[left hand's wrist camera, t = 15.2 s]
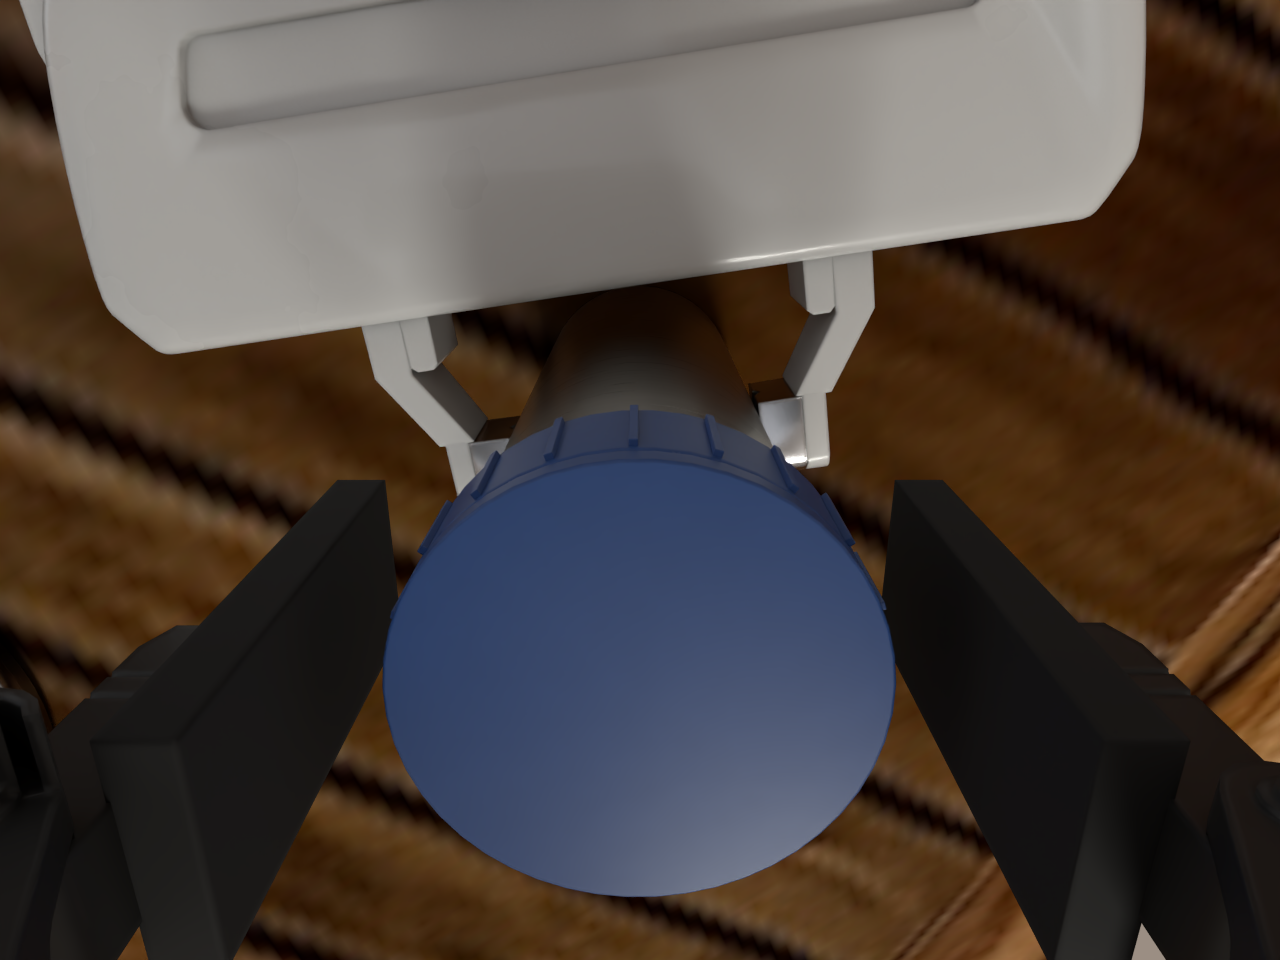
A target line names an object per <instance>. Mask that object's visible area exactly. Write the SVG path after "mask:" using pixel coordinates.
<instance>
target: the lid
mask: <svg viewBox="0 0 1280 960" xmlns="http://www.w3.org/2000/svg"><path fill="white" fill-rule="evenodd" d="M854 544H855V541H854V539H853V538H852V536H851V534H850V532H849V531H848V529H847V527H846V525H845V524H844V522H843V520H842V518H841V517H840V515H839V513H838V511H837V509H836V508H835V506H834V504H833V502H832V501H831V499H830V497H829V496H828V495H827V493H825V494H823V495H822V496H820V495H819V493H818V492H817V491H816V489H815V488H814V487H813V485H812V484H811V483H810V482H809V481H808V480H807V479H806V478H805V477H804V476H803V475H802V474H801V473H800V472H799V471H798V470H797V469H796V468H795V467H794V466H793V465H792V464H790V463H789V462H788V461H786V459H785V457H784V455H783V453H782V451H781V449H780V448H779V447H777V446H776V445H773V447H772V448H771V449H770V448H769V447H767V446H765V445H764V444H762V443H760V442H758V441H756V440H755V439H753V438H751V437H749V436H747V435H746V434H744V433H742V432H739V431H737V430H734V429H732V428H729V427H727V426H724V425H722V424H719V423H717V422H715V418H714V416H712V415H709V414H706V416H705V419H702V418H698V417H694V416H690V415H686V414H681V413H672V412H664V411H656V410H638V405H630V410H621V411H614V412H606V413H599V414H592V415H588V416H584V417H580V418H576V419H573V420H569V421H565V422H564V419H563V417H560V418H557V419H555V421H554V424H553V426H552V427H549V428H547V429H544V430H542V431H540V432H537V433H535V434H532V435H531V436H529V437H527V438H526V439H524V440H522V441H520V442H519V443H517V444H515V445H513V446H512V447H510V448H508V449H507V450H505V451H504V452H503V453H502V454H499V453H498V451H497V450H496V451H494V452H493V453H492V454H491V455H490V456H489V458H488V460H487V462H486V464H485V466H484V468H483V469H482V470H481V471H480V472H479V473H478V474H477V475H476V476H475V477H474V478H473V479H472V480H471V481H470V482H469V483H468V484H467V485H466V486H465V487H464V488H463V490H462V491H461V493H460V494H459V495H458V497H457V498H456V499H455V501H454V502H453V503H451V502H450V501H448V500H447V501H446V503H445V504H444V506H443V507H442V509H441V511H440V513H439V514H438V516H437V518H436V520H435V521H434V523H433V525H432V526H431V528H430V530H429V532H428V533H427V535H426V537H425V539H424V540H423V542H422V544H421V546H420V547H419V549H418V552H419V553H420V554H422V555H423V556H422V558H421V559H420V561H419V562H418V564H417V566H416V568H415V570H414V572H413V573H412V575H411V577H410V579H409V581H408V582H407V584H406V586H405V588H404V590H403V591H402V593H401V595H400V597H399V599H398V600H397V602H396V604H395V606H394V608H393V609H392V611H391V615H390V619H392V620H391V623H390V626H389V629H388V634H387V640H386V645H385V651H384V657H383V694H384V702H385V709H386V716H387V720H388V723H389V727H390V730H391V734H392V737H393V741H394V744H395V746H396V749H397V751H398V753H399V755H400V757H401V760H402V762H403V764H404V766H405V768H406V770H407V772H408V774H409V775H410V777H411V778H412V780H413V781H414V783H415V785H416V786H417V788H418V789H419V791H420V793H421V794H422V795H423V796H424V798H425V799H426V800H427V801H428V802H429V804H430V805H431V806H432V807H433V808H434V810H435V811H436V812H437V813H438V814H439V816H440V817H441V818H443V819H444V820H445V821H446V822H447V823H448V824H449V825H450V826H451V827H452V828H453V829H454V830H455V831H457V832H458V833H459V834H460V835H461V836H462V837H464V838H465V839H466V840H468V841H469V842H470V843H472V844H473V845H475V846H476V847H477V848H479V849H480V850H481V851H483V852H484V853H486V854H488V855H489V856H491V857H493V858H495V859H496V860H498V861H500V862H502V863H503V864H505V865H507V866H509V867H511V868H513V869H515V870H518V871H520V872H522V873H525V874H527V875H529V876H532V877H534V878H536V879H539V880H542V881H545V882H549V883H552V884H555V885H558V886H562V887H565V888H569V889H574V890H579V891H584V892H589V893H594V894H603V895H613V896H624V897H656V896H666V895H675V894H684V893H690V892H695V891H699V890H704V889H709V888H714V887H717V886H721V885H724V884H727V883H730V882H733V881H736V880H739V879H742V878H745V877H747V876H750V875H752V874H754V873H756V872H759V871H761V870H763V869H765V868H768V867H770V866H772V865H774V864H775V863H777V862H779V861H780V860H782V859H784V858H786V857H787V856H789V855H791V854H792V853H794V852H796V851H797V850H799V849H800V848H801V847H803V846H804V845H805V844H807V843H808V842H809V841H811V840H812V839H813V838H815V837H816V836H817V835H819V834H820V833H821V832H822V831H823V830H824V829H825V828H826V827H827V826H828V825H830V824H831V823H832V822H833V821H834V820H835V819H836V818H837V817H838V816H839V815H840V814H841V813H842V812H843V810H844V809H845V808H846V807H847V805H848V804H849V803H850V802H851V801H852V799H853V798H854V797H855V796H856V794H857V793H858V792H859V790H860V789H861V787H862V786H863V784H864V782H865V781H866V779H867V777H868V776H869V774H870V772H871V771H872V769H873V768H874V765H875V763H876V761H877V759H878V756H879V754H880V752H881V749H882V747H883V745H884V742H885V740H886V736H887V732H888V728H889V725H890V721H891V717H892V714H893V706H894V697H895V689H896V671H895V653H894V648H893V643H892V638H891V633H890V628H889V624H888V622H887V619H886V616H885V613H884V611H883V610H886V605H885V602H884V600H883V599H882V597H881V595H880V593H879V591H878V590H877V588H876V586H875V584H874V582H873V581H872V579H871V577H870V575H869V573H868V572H867V570H866V568H865V566H864V564H863V563H862V561H861V559H860V557H859V555H858V554H857V552H853V550H852V548H851V546H852V545H854Z"/></svg>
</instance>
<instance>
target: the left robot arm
mask: <svg viewBox="0 0 1280 960" xmlns="http://www.w3.org/2000/svg"><path fill="white" fill-rule="evenodd" d="M882 599H883V600H884V602H885V605H886V610H883V611H884V613H885V616H886V619H887V622H888V624H889V628H890V633H891V638H892V643H893V648H894V653H895V663H896V665H897V667H898V669H899V671H900V673H901V675H902V677H903V679H904V681H905V682H906V684H907V686H908V688H909V690H910V692H911V694H912V696H913V698H914V700H915V702H916V704H917V706H918V708H919V710H920V712H921V714H922V716H923V718H924V720H925V722H926V724H927V726H928V727H929V729H930V731H931V733H932V735H933V737H934V739H935V741H936V743H937V745H938V747H939V749H940V751H941V753H942V755H943V757H944V759H945V761H946V763H947V765H948V767H949V769H950V771H951V773H952V774H953V776H954V778H955V780H956V782H957V784H958V786H959V788H960V790H961V792H962V794H963V796H964V798H965V800H966V802H967V804H968V806H969V808H970V810H971V812H972V814H973V816H974V818H975V819H976V821H977V823H978V825H979V827H980V829H981V831H982V833H983V835H984V837H985V839H986V841H987V843H988V845H989V847H990V849H991V851H992V853H993V855H994V857H995V859H996V861H997V863H998V865H999V866H1000V868H1001V870H1002V872H1003V874H1004V876H1005V878H1006V880H1007V882H1008V884H1009V886H1010V888H1011V890H1012V892H1013V894H1014V896H1015V898H1016V900H1017V902H1018V904H1019V906H1020V908H1021V910H1022V911H1023V913H1024V915H1025V917H1026V919H1027V921H1028V923H1029V925H1030V927H1031V929H1032V931H1033V933H1034V935H1035V937H1036V939H1037V941H1038V943H1039V945H1040V947H1041V949H1042V951H1043V953H1044V955H1045V957H1046V958H1047V960H1132V956H1133V952H1134V948H1135V945H1136V941H1137V938H1138V934H1139V930H1140V927H1141V923H1142V924H1143V926H1144V927H1145V929H1146V930H1147V932H1148V933H1149V935H1150V936H1151V938H1152V939H1153V941H1154V942H1155V944H1156V945H1157V947H1158V948H1159V950H1160V951H1161V953H1162V954H1163V956H1164V957H1165V959H1166V960H1280V763H1277V762H1269V761H1264V760H1263V759H1262V758H1261V757H1260V756H1259V755H1258V754H1256V753H1255V752H1254V751H1253V750H1252V749H1251V748H1250V747H1249V746H1248V745H1247V744H1246V743H1245V742H1244V741H1243V740H1242V739H1241V738H1240V737H1239V736H1238V735H1237V734H1236V733H1235V732H1234V731H1232V730H1231V729H1230V728H1229V727H1228V726H1227V725H1226V724H1225V723H1224V722H1223V721H1222V720H1221V719H1220V718H1219V717H1218V716H1217V715H1216V714H1215V713H1214V712H1213V711H1212V710H1211V709H1210V708H1208V707H1207V706H1206V705H1205V704H1204V703H1203V702H1202V701H1201V700H1200V699H1199V698H1198V697H1197V696H1196V695H1191V694H1190V689H1189V688H1188V687H1187V686H1186V685H1184V684H1183V683H1182V682H1181V681H1180V680H1179V679H1178V678H1177V677H1176V676H1175V675H1174V674H1169V672H1168V668H1167V667H1166V666H1165V665H1164V664H1163V663H1162V662H1160V661H1159V660H1158V659H1157V658H1156V657H1155V656H1154V655H1153V654H1152V653H1151V652H1150V651H1149V650H1148V649H1147V648H1146V647H1145V646H1144V645H1143V644H1141V643H1139V642H1138V641H1136V640H1134V639H1132V638H1130V637H1129V636H1127V635H1125V634H1123V633H1121V632H1120V631H1118V630H1116V629H1114V628H1112V627H1111V626H1109V625H1107V624H1105V623H1078V622H1077V621H1076V620H1075V619H1074V618H1073V617H1072V616H1071V615H1070V613H1069V612H1068V611H1067V610H1066V609H1065V608H1064V607H1063V606H1062V605H1061V604H1060V603H1059V602H1058V601H1057V600H1056V599H1055V598H1054V597H1053V596H1052V595H1051V594H1050V592H1049V591H1048V590H1047V589H1046V588H1045V587H1044V586H1043V585H1042V584H1041V583H1040V582H1039V581H1038V580H1037V579H1036V578H1035V577H1034V576H1033V575H1032V574H1031V573H1030V571H1029V570H1028V569H1027V568H1026V567H1025V566H1024V565H1023V564H1022V563H1021V562H1020V561H1019V560H1018V559H1017V558H1016V557H1015V556H1014V555H1013V554H1012V553H1011V552H1010V551H1009V549H1008V548H1007V547H1006V546H1005V545H1004V544H1003V543H1002V542H1001V541H1000V540H999V539H998V538H997V537H996V536H995V535H994V534H993V533H992V532H991V531H990V530H989V528H988V527H987V526H986V525H985V524H984V523H983V522H982V521H981V520H980V519H979V518H978V517H977V516H976V515H975V514H974V513H973V512H972V511H971V510H970V509H969V507H968V506H967V505H966V504H965V503H964V502H963V501H962V500H961V499H960V498H959V497H958V496H957V495H956V494H955V493H954V492H953V491H952V490H951V489H950V488H949V487H948V485H947V484H946V483H945V482H944V481H943V480H895V485H894V494H893V503H892V512H891V521H890V530H889V539H888V548H887V557H886V566H885V575H884V584H883V593H882ZM397 600H398V593H397V584H396V575H395V566H394V557H393V548H392V539H391V530H390V521H389V512H388V503H387V494H386V485H385V480H337V481H336V482H335V483H334V484H333V485H332V487H331V488H330V489H329V490H328V491H327V492H326V493H325V494H324V495H323V496H322V497H321V498H320V499H319V500H318V501H317V502H316V503H315V504H314V505H313V506H312V507H311V509H310V510H309V511H308V512H307V513H306V514H305V515H304V516H303V517H302V518H301V519H300V520H299V521H298V522H297V523H296V524H295V525H294V526H293V527H292V528H291V530H290V531H289V532H288V533H287V534H286V535H285V536H284V537H283V538H282V539H281V540H280V541H279V542H278V543H277V544H276V545H275V546H274V547H273V548H272V549H271V551H270V552H269V553H268V554H267V555H266V556H265V557H264V558H263V559H262V560H261V561H260V562H259V563H258V564H257V565H256V566H255V567H254V568H253V569H252V570H251V571H250V573H249V574H248V575H247V576H246V577H245V578H244V579H243V580H242V581H241V582H240V583H239V584H238V585H237V586H236V587H235V588H234V589H233V590H232V591H231V592H230V594H229V595H228V596H227V597H226V598H225V599H224V600H223V601H222V602H221V603H220V604H219V605H218V606H217V607H216V608H215V609H214V610H213V611H212V612H211V613H210V615H209V616H208V617H207V618H206V619H205V620H204V621H203V622H202V623H201V624H200V625H199V626H175V627H173V628H172V629H170V630H168V631H166V632H164V633H163V634H161V635H159V636H157V637H155V638H154V639H152V640H150V641H148V642H146V643H145V644H143V645H141V646H139V647H138V648H137V649H136V650H135V651H134V652H133V653H132V654H131V655H130V656H129V657H128V658H127V659H125V660H124V661H123V662H122V663H121V664H120V665H119V666H118V667H117V668H116V669H115V670H114V671H113V672H112V677H107V678H106V679H105V680H104V681H103V682H102V683H101V684H100V685H99V686H98V687H96V688H95V689H94V690H93V691H92V692H91V696H90V699H84V700H83V701H82V702H81V703H80V704H79V705H78V706H77V707H76V708H75V709H74V710H73V711H72V712H71V713H70V714H69V715H67V716H66V717H65V718H64V719H63V720H62V721H61V722H60V723H59V724H58V725H57V726H56V727H55V728H54V729H53V728H52V724H51V721H50V719H49V716H48V714H47V712H46V709H45V707H44V704H43V703H42V701H41V699H40V697H39V695H38V693H37V691H36V689H35V687H34V686H33V684H32V683H31V681H30V680H29V678H28V676H27V675H26V673H25V672H24V670H23V669H22V668H21V666H20V665H19V664H18V662H17V661H16V660H15V659H14V657H13V656H12V655H11V653H10V652H9V651H8V650H7V649H6V648H5V647H4V646H3V644H2V643H1V642H0V960H117V959H118V958H119V956H120V955H121V953H122V952H123V950H124V949H125V947H126V945H127V944H128V942H129V941H130V939H131V938H132V936H133V935H134V933H135V932H136V930H137V929H138V927H140V930H141V934H142V938H143V941H144V945H145V949H146V952H147V956H148V960H233V958H234V957H235V955H236V953H237V951H238V949H239V947H240V945H241V943H242V941H243V939H244V937H245V935H246V933H247V931H248V929H249V927H250V925H251V923H252V921H253V919H254V917H255V915H256V913H257V911H258V910H259V908H260V906H261V904H262V902H263V900H264V898H265V896H266V894H267V892H268V890H269V888H270V886H271V884H272V882H273V880H274V878H275V876H276V874H277V872H278V870H279V868H280V866H281V865H282V863H283V861H284V859H285V857H286V855H287V853H288V851H289V849H290V847H291V845H292V843H293V841H294V839H295V837H296V835H297V833H298V831H299V829H300V827H301V825H302V823H303V821H304V819H305V818H306V816H307V814H308V812H309V810H310V808H311V806H312V804H313V802H314V800H315V798H316V796H317V794H318V792H319V790H320V788H321V786H322V784H323V782H324V780H325V778H326V776H327V774H328V773H329V771H330V769H331V767H332V765H333V763H334V761H335V759H336V757H337V755H338V753H339V751H340V749H341V747H342V745H343V743H344V741H345V739H346V737H347V735H348V733H349V731H350V729H351V727H352V726H353V724H354V722H355V720H356V718H357V716H358V714H359V712H360V710H361V708H362V706H363V704H364V702H365V700H366V698H367V696H368V694H369V692H370V690H371V688H372V686H373V684H374V682H375V681H376V679H377V677H378V675H379V673H380V671H381V669H382V667H383V657H384V651H385V645H386V640H387V634H388V629H389V626H390V623H391V620H392V619H390V615H391V611H392V609H393V608H394V606H395V604H396V602H397Z"/></svg>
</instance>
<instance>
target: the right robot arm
mask: <svg viewBox="0 0 1280 960" xmlns="http://www.w3.org/2000/svg"><path fill="white" fill-rule="evenodd" d="M19 1H20V4H21V6H22V9H23V12H24V15H25V18H26V21H27V24H28V26H29V29H30V32H31V35H32V38H33V41H34V43H35V46H36V48H37V50H38V52H39V54H40V56H41V57H42V59H43V61H44V62H45V64H46V68H47V75H48V81H49V86H50V92H51V98H52V103H53V109H54V114H55V120H56V125H57V130H58V135H59V140H60V145H61V150H62V155H63V159H64V163H65V167H66V172H67V176H68V180H69V184H70V189H71V193H72V197H73V201H74V205H75V209H76V213H77V217H78V221H79V224H80V228H81V232H82V236H83V240H84V243H85V246H86V250H87V253H88V257H89V260H90V263H91V267H92V270H93V274H94V277H95V280H96V283H97V285H98V288H99V291H100V293H101V296H102V299H103V301H104V303H105V305H106V307H107V309H108V310H109V311H110V313H111V314H112V315H113V316H114V317H115V318H117V319H118V320H119V321H120V322H121V323H123V324H124V325H125V326H126V327H127V328H129V329H130V330H131V331H132V332H133V333H135V334H136V335H137V336H138V337H139V338H141V339H142V340H143V341H145V342H146V343H147V344H149V345H150V346H151V347H153V348H154V349H155V350H156V351H159V352H161V353H165V354H178V353H185V352H192V351H199V350H206V349H213V348H219V347H226V346H233V345H240V344H246V343H253V342H260V341H266V340H273V339H280V338H287V337H293V336H300V335H307V334H314V333H320V332H327V331H334V330H341V329H347V328H354V327H361V326H362V330H363V334H364V338H365V342H366V346H367V349H368V353H369V357H370V361H371V365H372V369H373V373H374V376H375V380H376V381H377V382H378V383H379V384H380V385H381V386H382V387H383V388H384V389H385V390H386V391H387V392H388V393H389V394H390V395H391V396H392V397H393V398H394V399H395V400H396V402H397V403H398V404H399V405H400V406H401V407H402V408H403V409H404V410H405V411H406V412H407V413H408V414H409V415H410V416H411V417H412V418H413V419H414V420H415V421H416V422H417V423H418V424H419V425H420V426H421V428H422V429H423V430H424V431H425V432H426V433H427V434H428V435H429V436H430V437H431V438H432V439H433V440H434V441H435V442H436V443H437V444H438V445H439V446H440V447H442V446H446V450H447V454H448V458H449V462H450V466H451V470H452V474H453V479H454V483H455V487H456V491H457V495H459V494H460V493H461V491H462V490H463V488H464V487H465V486H466V485H467V484H468V483H469V482H470V481H471V480H472V479H473V478H474V477H475V476H476V475H477V474H478V473H479V472H480V471H481V470H482V469H483V468H484V466H485V464H486V462H487V460H488V458H489V456H490V455H491V454H492V453H493V452H494V451H496V450H497V451H498V453H499V454H502V453H503V452H504V450H505V448H506V446H507V444H508V442H509V439H510V437H511V435H512V433H513V431H514V429H515V427H516V425H517V422H518V420H519V418H520V416H516V417H507V418H499V419H490V420H487V419H488V418H487V416H486V415H485V414H484V413H483V412H482V411H481V409H480V408H479V407H478V406H477V405H476V403H475V402H474V401H473V400H472V399H471V397H470V396H469V395H468V394H467V393H466V391H465V390H464V389H463V388H462V387H461V386H460V384H459V383H458V382H457V381H456V380H455V378H454V377H453V376H452V375H451V374H450V372H449V371H448V370H447V369H446V368H445V366H444V365H443V364H442V363H441V362H442V361H443V360H444V359H445V358H446V357H447V356H448V355H449V354H450V353H451V352H452V351H453V350H454V349H455V347H456V346H457V345H458V343H457V338H456V333H455V329H454V324H453V319H452V314H451V313H455V312H462V311H468V310H475V309H482V308H489V307H495V306H502V305H509V304H516V303H522V302H529V301H536V300H542V299H549V298H556V297H563V296H569V295H576V294H583V293H590V292H596V291H603V290H610V289H617V288H623V287H630V286H637V285H643V284H650V283H657V282H664V281H670V280H677V279H684V278H691V277H697V276H704V275H711V274H717V273H724V272H731V271H738V270H744V269H751V268H758V267H765V266H771V265H778V264H785V263H787V267H788V277H789V287H790V296H792V297H793V298H794V299H795V300H796V301H797V302H798V303H799V304H800V305H801V306H803V307H804V308H805V309H806V310H807V311H808V312H810V315H809V317H808V319H807V321H806V324H805V326H804V328H803V330H802V333H801V335H800V337H799V339H798V342H797V344H796V346H795V348H794V351H793V353H792V355H791V357H790V360H789V362H788V364H787V366H786V369H785V371H784V373H783V375H782V376H783V378H780V379H774V380H768V381H762V382H755V383H749V384H748V385H749V395H750V399H751V401H752V403H753V405H754V407H755V409H756V412H757V414H758V416H759V418H760V420H761V422H762V424H763V427H764V429H765V431H766V433H767V435H768V437H769V439H770V441H771V444H772V446H773V445H776V446H777V447H779V448H780V449H781V451H782V453H783V455H784V457H785V459H786V461H788V462H789V463H790V464H792V465H793V466H794V467H795V468H796V469H797V470H801V469H808V468H815V467H822V466H828V464H829V458H830V448H829V434H828V420H827V406H826V393H827V392H832V390H833V388H834V386H835V384H836V382H837V380H838V378H839V376H840V374H841V372H842V370H843V368H844V366H845V364H846V362H847V361H848V359H849V357H850V355H851V353H852V351H853V349H854V347H855V345H856V343H857V341H858V339H859V337H860V335H861V333H862V331H863V329H864V327H865V326H866V324H867V322H868V320H869V318H870V316H871V314H872V312H873V310H874V308H875V303H874V281H873V258H872V250H879V249H886V248H893V247H899V246H906V245H913V244H919V243H926V242H933V241H940V240H946V239H953V238H960V237H967V236H973V235H980V234H987V233H993V232H1000V231H1007V230H1014V229H1020V228H1027V227H1034V226H1040V225H1047V224H1054V223H1060V222H1067V221H1073V220H1080V219H1084V218H1086V217H1088V216H1091V215H1092V214H1093V213H1094V212H1096V211H1097V210H1098V208H1099V207H1100V206H1101V205H1102V203H1103V202H1104V201H1105V200H1106V198H1107V197H1108V196H1109V194H1110V193H1111V192H1112V190H1113V189H1114V187H1115V186H1116V184H1117V183H1118V181H1119V180H1120V178H1121V177H1122V176H1123V174H1124V173H1125V171H1126V170H1127V168H1128V167H1129V165H1130V164H1131V162H1132V161H1133V159H1134V157H1135V154H1136V152H1137V149H1138V145H1139V140H1140V135H1141V130H1142V120H1143V108H1144V90H1145V61H1146V0H19Z"/></svg>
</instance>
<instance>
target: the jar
mask: <svg viewBox="0 0 1280 960" xmlns="http://www.w3.org/2000/svg"><path fill="white" fill-rule="evenodd" d="M630 405H638V410H656V411H664V412H672V413H681V414H686V415H690V416H694V417H698V418H702V419H705V416H706V414H709V415H712V416H714V418H715V422H717V423H719V424H722V425H724V426H727V427H729V428H732V429H734V430H737V431H739V432H742V433H744V434H746V435H747V436H749V437H751V438H753V439H755V440H756V441H758V442H760V443H762V444H764V445H765V446H767V447H769V448H770V449H771V448H772V447H773V446H772V444H771V441H770V439H769V437H768V435H767V433H766V431H765V429H764V427H763V424H762V422H761V420H760V418H759V416H758V414H757V412H756V409H755V407H754V405H753V403H752V401H751V399H750V397H749V394H748V392H747V390H746V388H745V386H744V384H743V382H742V380H741V377H740V375H739V373H738V371H737V369H736V367H735V365H734V362H733V360H732V358H731V356H730V354H729V352H728V350H727V347H726V345H725V343H724V341H723V339H722V337H721V335H720V333H719V331H718V330H717V328H716V326H715V325H714V324H713V322H712V321H711V320H710V318H709V317H708V316H707V315H706V314H705V313H704V312H703V311H702V310H701V309H700V308H699V307H697V306H696V305H695V304H694V303H692V302H691V301H689V300H688V299H686V298H684V297H682V296H681V295H679V294H676V293H674V292H671V291H669V290H665V289H661V288H657V287H649V286H630V287H623V288H618V289H615V290H611V291H608V292H606V293H603V294H601V295H599V296H597V297H595V298H593V299H592V300H590V301H589V302H587V303H586V304H584V305H583V306H582V307H581V308H579V309H578V310H577V311H576V312H575V313H574V314H573V315H572V316H571V318H570V319H569V320H568V321H567V323H566V324H565V326H564V327H563V328H562V330H561V332H560V334H559V336H558V338H557V340H556V342H555V344H554V346H553V348H552V350H551V352H550V355H549V357H548V359H547V361H546V363H545V365H544V367H543V369H542V372H541V374H540V376H539V378H538V380H537V382H536V384H535V386H534V389H533V391H532V393H531V395H530V397H529V399H528V401H527V403H526V405H525V408H524V410H523V412H522V414H521V416H520V418H519V420H518V422H517V425H516V427H515V429H514V431H513V433H512V435H511V437H510V439H509V442H508V444H507V446H506V448H505V450H507V449H508V448H510V447H512V446H513V445H515V444H517V443H519V442H520V441H522V440H524V439H526V438H527V437H529V436H531V435H532V434H535V433H537V432H540V431H542V430H544V429H547V428H549V427H552V426H553V424H554V421H555V419H557V418H560V417H563V419H564V422H565V421H569V420H573V419H576V418H580V417H584V416H588V415H592V414H599V413H606V412H614V411H621V410H630ZM505 450H504V451H505Z"/></svg>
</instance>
